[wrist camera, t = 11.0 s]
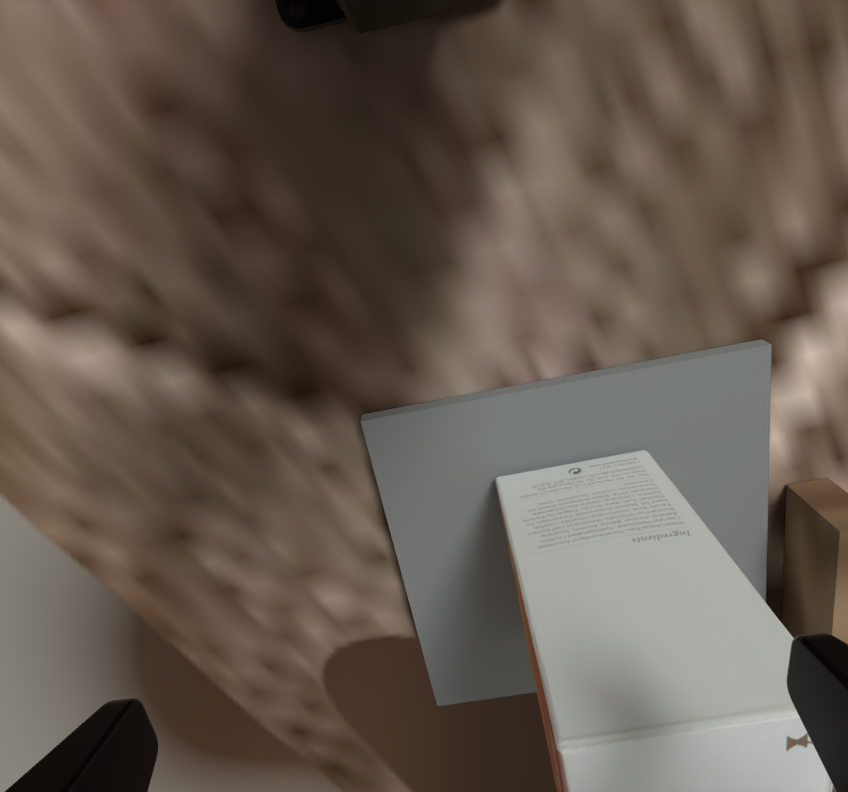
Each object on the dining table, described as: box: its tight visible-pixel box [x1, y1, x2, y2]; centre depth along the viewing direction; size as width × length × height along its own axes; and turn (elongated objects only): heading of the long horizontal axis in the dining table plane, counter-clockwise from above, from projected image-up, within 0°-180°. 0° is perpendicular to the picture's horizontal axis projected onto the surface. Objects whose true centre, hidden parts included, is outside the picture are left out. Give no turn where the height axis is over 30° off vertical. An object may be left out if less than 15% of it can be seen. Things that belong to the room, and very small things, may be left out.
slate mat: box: [360, 339, 772, 706], centre depth 22 cm, size 14×14×1 cm
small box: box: [495, 450, 833, 792], centre depth 17 cm, size 8×6×10 cm
